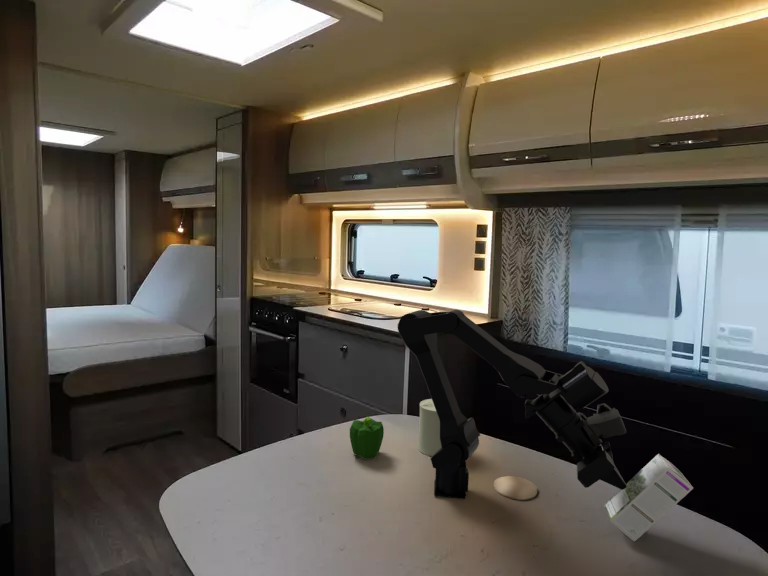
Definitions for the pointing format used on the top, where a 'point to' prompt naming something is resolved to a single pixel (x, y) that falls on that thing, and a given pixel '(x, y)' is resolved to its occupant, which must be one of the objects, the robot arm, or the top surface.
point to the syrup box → (647, 497)
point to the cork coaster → (515, 488)
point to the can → (429, 429)
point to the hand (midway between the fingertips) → (624, 487)
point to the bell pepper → (366, 437)
